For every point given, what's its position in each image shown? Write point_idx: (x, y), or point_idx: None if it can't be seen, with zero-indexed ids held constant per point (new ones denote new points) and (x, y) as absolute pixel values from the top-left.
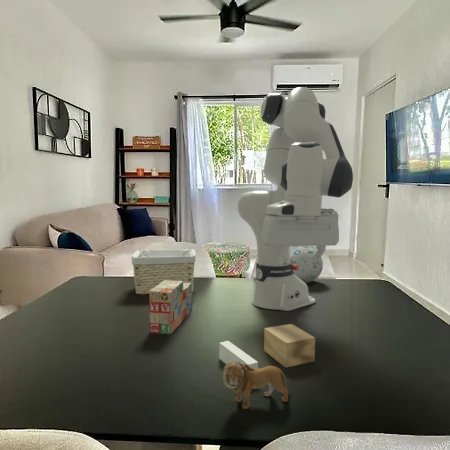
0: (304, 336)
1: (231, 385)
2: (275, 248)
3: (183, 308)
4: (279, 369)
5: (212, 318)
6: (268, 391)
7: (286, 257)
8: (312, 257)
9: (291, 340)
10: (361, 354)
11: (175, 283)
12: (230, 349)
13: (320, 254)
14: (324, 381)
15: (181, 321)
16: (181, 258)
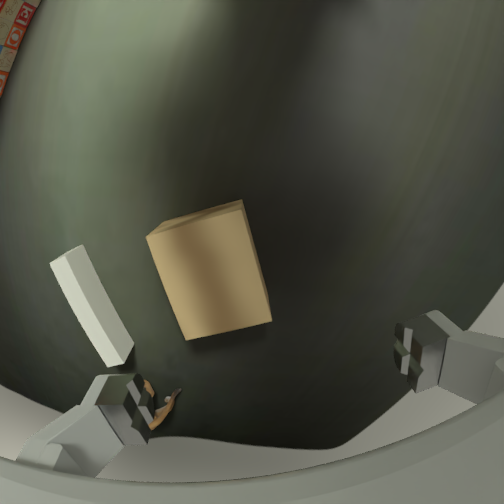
0: (246, 310)
1: None
2: (28, 449)
3: (10, 21)
4: (152, 427)
5: (84, 8)
6: (146, 388)
7: (138, 444)
8: (414, 345)
9: (202, 328)
10: (385, 274)
11: None
12: (71, 302)
13: (456, 392)
14: (252, 365)
15: (19, 43)
16: None
